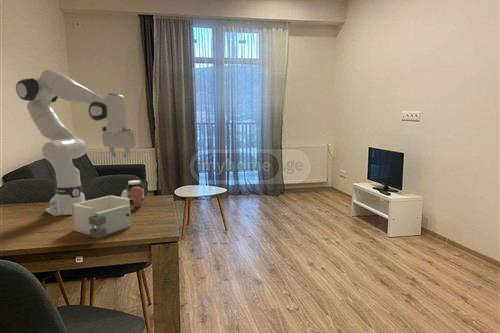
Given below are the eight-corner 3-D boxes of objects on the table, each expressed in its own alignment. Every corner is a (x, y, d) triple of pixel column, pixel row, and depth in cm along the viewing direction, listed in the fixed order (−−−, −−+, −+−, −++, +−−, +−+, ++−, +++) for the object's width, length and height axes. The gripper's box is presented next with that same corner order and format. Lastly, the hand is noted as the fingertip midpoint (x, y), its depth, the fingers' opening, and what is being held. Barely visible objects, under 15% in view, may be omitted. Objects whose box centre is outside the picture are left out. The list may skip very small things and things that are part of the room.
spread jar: (146, 199, 210) (145, 180, 208) (131, 203, 200) (129, 184, 198) (132, 197, 216) (131, 179, 214) (117, 201, 206) (116, 182, 205)
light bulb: (131, 209, 187) (130, 188, 186) (129, 206, 194) (128, 185, 192) (145, 208, 191) (144, 186, 189) (142, 205, 197) (141, 184, 195)
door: (96, 235, 147) (95, 213, 146) (128, 225, 161) (126, 204, 159) (101, 237, 146) (99, 214, 144) (132, 226, 159) (131, 205, 158)
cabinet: (71, 230, 154) (69, 204, 152) (112, 218, 171) (110, 195, 169) (97, 238, 143) (95, 210, 142) (138, 225, 161) (136, 200, 159)
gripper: (138, 128, 161) (139, 157, 163) (110, 127, 172) (112, 155, 174) (126, 128, 156) (128, 158, 158) (99, 128, 167) (101, 156, 169)
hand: (119, 156), depth 166 cm, fingers open, 8 cm apart
